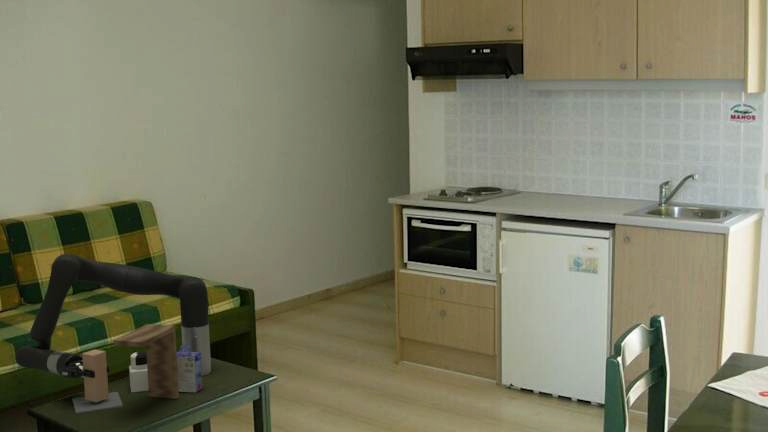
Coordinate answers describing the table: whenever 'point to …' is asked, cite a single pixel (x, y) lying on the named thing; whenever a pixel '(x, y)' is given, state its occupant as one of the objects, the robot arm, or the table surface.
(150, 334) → the walnut shelf
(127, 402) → the table surface
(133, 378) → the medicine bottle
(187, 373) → the ink cartridge box
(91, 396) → the terracotta carton
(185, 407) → the table surface
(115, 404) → the slate mat
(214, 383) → the table surface
